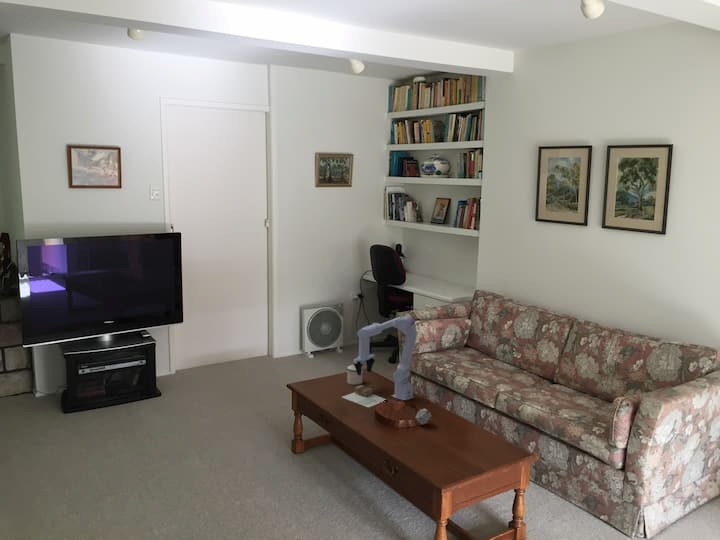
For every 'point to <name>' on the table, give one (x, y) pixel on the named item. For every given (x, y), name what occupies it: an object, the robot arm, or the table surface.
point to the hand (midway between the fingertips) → (364, 373)
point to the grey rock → (423, 416)
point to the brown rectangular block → (363, 391)
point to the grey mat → (364, 399)
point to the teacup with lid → (354, 375)
